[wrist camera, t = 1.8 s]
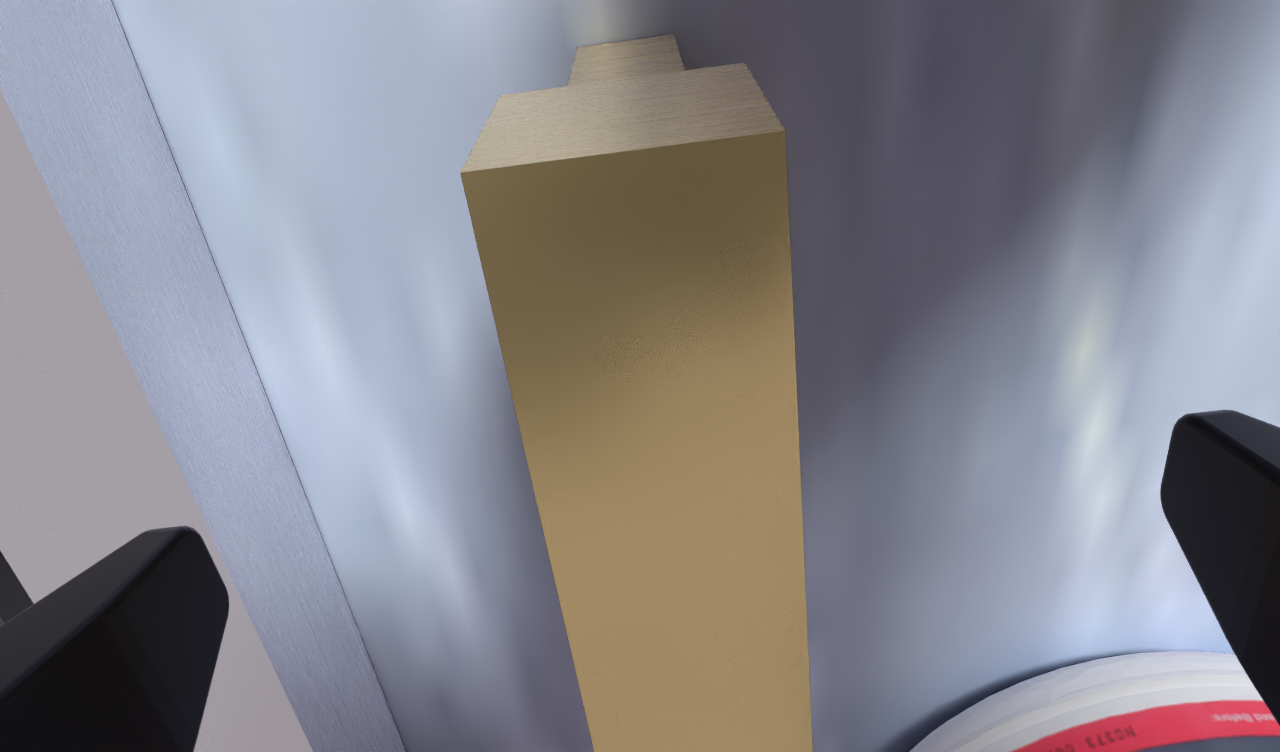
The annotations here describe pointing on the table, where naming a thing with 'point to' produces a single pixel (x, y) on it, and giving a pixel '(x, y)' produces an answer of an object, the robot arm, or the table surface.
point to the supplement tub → (1120, 710)
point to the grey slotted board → (150, 393)
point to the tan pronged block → (656, 388)
